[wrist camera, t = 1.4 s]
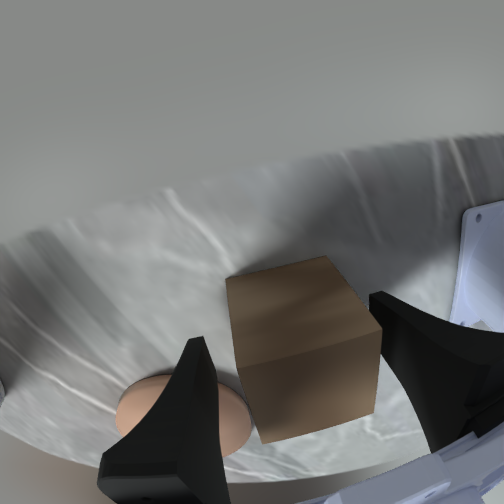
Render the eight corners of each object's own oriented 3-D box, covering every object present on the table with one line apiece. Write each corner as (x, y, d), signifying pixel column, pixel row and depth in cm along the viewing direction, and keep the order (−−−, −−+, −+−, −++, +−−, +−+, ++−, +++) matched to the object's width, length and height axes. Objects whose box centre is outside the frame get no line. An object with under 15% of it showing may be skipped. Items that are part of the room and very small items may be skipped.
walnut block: (325, 254, 14) (382, 329, 9) (331, 332, 16) (373, 412, 11) (225, 278, 14) (236, 368, 9) (246, 354, 16) (262, 444, 11)
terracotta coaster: (232, 362, 16) (234, 375, 15) (259, 440, 19) (261, 452, 18) (95, 383, 15) (91, 396, 14) (149, 455, 19) (149, 466, 18)
